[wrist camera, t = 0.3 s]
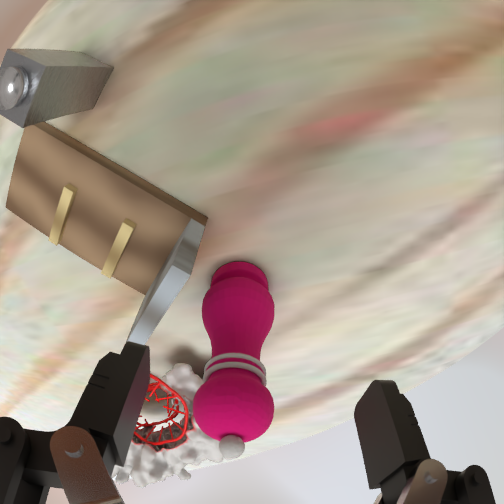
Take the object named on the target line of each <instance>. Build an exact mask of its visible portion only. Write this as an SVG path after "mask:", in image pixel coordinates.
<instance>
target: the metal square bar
mask: <svg viewBox="0 0 504 504" xmlns="http://www.w3.org/2000/svg"><path fill="white" fill-rule="evenodd" d="M113 69H114V68H113V67H111V66H109V65H107V64H105V63H103V62H101V61H99V60H97V59H95V58H92V57H90V56H88V55H86V54H84V53H81V52H74V51H62V50H46V49H7V52H6V54H5V56H4V59H3V62H2V64H1V67H0V114H1V115H2V116H4V117H6V118H7V119H9V120H10V121H12V122H14V123H15V124H17V125H19V126H20V127H22V128H24V127H27V126H31V125H34V124H37V123H40V122H44V121H47V120H51V119H54V118H58V117H61V116H65V115H69V114H73V113H77V112H81V111H85V110H90V109H93V108H94V106H95V104H96V102H97V100H98V98H99V95H100V93H101V91H102V90H103V88H104V86H105V84H106V82H107V80H108V78H109V76H110V74H111V72H112V71H113Z"/></svg>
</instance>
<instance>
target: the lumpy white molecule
mask: <svg viewBox="0 0 504 504" xmlns="http://www.w3.org/2000/svg"><path fill="white" fill-rule="evenodd" d="M150 377H151V378H153V379H154V380H156V381H158V382H156V383H151V384H149V386H148V390H147V392H151V391H152V393H151V394H150V395H149V397H151V396H152V394H153V393H155V396H156V399H155V400H157V401H158V402H159V400H163V399H167V407H166V406H163V407H164V408H167V413H169V409H170V413H169V415H168V417H169V416H170V414H171V412H172V410H173V411H175V412H174V413H173V414H172V415H171V416H170V417H169V418H167V419H165V420H163V421H160V422H153V423H152V424H148V422H147V421H146V419H145V422H146V423H145V424H140V423H138V422H137V425H139V426H138V427H137V426H136V427H135V430H134V434H133V437H132V440H131V444H130V447H129V450H128V454H127V457H126V461H125V464H124V467H121V466H118V465H115V466H114V469H113V473H112V476H111V477H112V478H113V477H114V476H116V474H117V477H116V482H117V483H118V484H123V483H125V482H127V481H128V479H129V475H131V477H132V479H133V481H134V484H135V485H136V486H137V487H141V488H144V487H146V485H148V484H154V483H156V482H158V481H164V480H165V479H166V477H171V476H173V474H176V475H177V476H178V477H179V478H180V479H181V480H188V479H190V478H191V475H190V474H189V473H188V472H187V471H186V470H185V469H184V467H185V466H186V465H187V464H192V465H199V464H201V462H202V461H204V460H207V459H208V460H209V461H213V462H217V463H219V462H221V461H222V460H223V457H224V458H225V459H227V460H230V459H233V458H227V457H225V456H223V455H222V454H221V453H220V450H219V442H220V441H218V440H215V439H213V438H211V437H209V436H208V435H206V434H205V433H204V432H203V431H202V430H201V429H200V428H199V426H198V425H197V423H196V422H195V418H194V415H193V399H194V396H195V394H196V392H197V390H198V389H199V387H200V386H201V385H202V384H204V383H203V379H201V378H200V377H199V375H196V374H194V373H193V371H192V367H191V366H190V365H189V364H186V363H176V364H175V365H174V367H173V369H172V370H169V371H168V372H167V373H166V375H164V376H163V377H162V378H161V379H159V378H157V377H156V376H154V375H152V374H150ZM154 385H157V386H154ZM158 388H159V389H162V390H163V391H165V392H166V393H167V397H165V398H159V399H158V397H157V394H156V392H155V390H156V389H158ZM168 394H171V395H172V396H171V397H169V395H168ZM169 398H172V403H173V398H174V399H175V402H174V403H173V406H172V408H169ZM145 400H147V401H149V402H150V400H148V399H147V398H145ZM180 401H181V402H182V404H183V406H184V412H181V411H179V404H180ZM175 403H176V404H175ZM174 405H175V406H176V410H175V409H173V407H174ZM178 413H181V414H185V416H184V418H183V419H182V420H181V421H180V424H179V423H177V422H175V421H173V420H172V419H173V418H175V417H176V416H177V415H178ZM139 417H142V416H140V415H139ZM169 420H171V421H172V422H173V424H172V425H171V426H170V423H168V424H169V426H168V427H166V428H163V426H162V429H161V430H160V431H156V432H153V430H154V428H155V427H156V426H154V425H158V424H161V423H164V422H165V423H167V422H168V421H169ZM146 424H147V425H146ZM141 426H143V427H144V428H143V429H138V428H139V427H141Z"/></svg>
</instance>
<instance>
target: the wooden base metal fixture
mask: <svg viewBox="0 0 504 504" xmlns="http://www.w3.org/2000/svg"><path fill="white" fill-rule="evenodd" d="M6 208H7V209H9V210H10V211H12V212H13V213H14V214H16V215H17V216H19V217H20V218H21V219H23V220H24V221H26V222H27V223H29V224H30V225H32V226H33V227H34V228H36V229H37V230H39V231H40V232H42V233H43V234H45V235H46V236H48V237H49V241H51V242H52V243H54V244H55V245H58V244H60V245H62V246H63V247H65V248H66V249H68V250H70V251H71V252H73V253H74V254H76V255H77V256H79V257H81V258H82V259H84V260H86V261H87V262H89V263H90V264H92V265H94V266H95V267H97V268H99V269H100V270H102V272H101V273H102V274H103V275H105V276H107V277H109V278H111V277H114V278H116V279H118V280H119V281H121V282H123V283H125V284H126V285H128V286H130V287H132V288H133V289H135V290H137V291H139V292H141V293H142V294H144V295H145V297H144V300H143V302H142V304H141V307H140V309H139V312H138V314H137V316H136V319H135V321H134V324H133V326H132V329H131V331H130V334H129V336H128V339H127V341H130V342H134V343H138V344H142V345H145V343H146V342H147V340H148V339H149V337H150V336H151V334H152V333H153V331H154V329H155V328H156V326H157V325H158V323H159V322H160V320H161V319H162V317H163V316H164V314H165V313H166V311H167V310H168V308H169V307H170V305H171V304H172V302H173V301H174V299H175V298H176V296H177V295H178V293H179V292H180V290H181V289H182V287H183V286H184V284H185V283H186V281H187V280H188V278H189V277H190V275H191V272H192V269H193V265H194V262H195V258H196V255H197V252H198V248H199V245H200V242H201V238H202V235H203V232H204V229H205V225H206V222H207V219H208V218H207V217H206V216H204V215H202V214H201V213H199V212H197V211H196V210H194V209H192V208H191V207H189V206H187V205H185V204H184V203H182V202H180V201H179V200H177V199H175V198H174V197H172V196H170V195H169V194H167V193H165V192H164V191H162V190H160V189H158V188H157V187H155V186H153V185H152V184H150V183H148V182H147V181H145V180H143V179H141V178H140V177H138V176H136V175H135V174H133V173H131V172H130V171H128V170H126V169H124V168H123V167H121V166H119V165H118V164H116V163H114V162H113V161H111V160H109V159H107V158H106V157H104V156H102V155H101V154H99V153H97V152H95V151H94V150H92V149H90V148H89V147H87V146H85V145H83V144H82V143H80V142H78V141H77V140H75V139H73V138H71V137H70V136H68V135H66V134H65V133H63V132H61V131H59V130H58V129H56V128H54V127H53V126H51V125H49V124H47V123H46V122H40V123H37V124H34V125H31V126H27V127H25V129H24V132H23V135H22V138H21V142H20V145H19V149H18V153H17V156H16V160H15V164H14V168H13V173H12V177H11V182H10V186H9V191H8V197H7V202H6ZM127 341H126V342H127Z"/></svg>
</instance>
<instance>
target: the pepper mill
mask: <svg viewBox="0 0 504 504" xmlns="http://www.w3.org/2000/svg"><path fill="white" fill-rule="evenodd" d="M202 318H203V323H204V326H205V329H206V331H207V333H208V335H209V338H210V340H211V346H212V357H211V359H210V360H209V361H208V362H207V363H206V365H205V367H204V376H203V383H204V384H202V385H201V386H200V387H199V389H198V390H197V392H196V394H195V396H194V399H193V415H194V418H195V422H196V423H197V425H198V426H199V428H200V429H201V430H202V431H203V432H204V433H205V434H206V435H208V436H209V437H211V438H213V439H215V440H218V441H220V442H219V450H220V453H221V454H222V455H223V456H225V457H227V458H237V457H239V456H240V455H242V453H243V452H244V449H245V444H244V442H248V441H251V440H254V439H256V438H258V437H259V436H261V435H262V434H263V433H264V432H265V431H266V430H267V429H268V428H269V426H270V424H271V422H272V419H273V414H274V402H273V398H272V396H271V394H270V392H269V390H268V389H267V388H266V387H265V386H266V369H265V367H264V365H263V364H262V363H261V362H260V352H261V347H262V344H263V342H264V340H265V338H266V336H267V335H268V333H269V331H270V329H271V327H272V323H273V320H274V302H273V299H272V296H271V295H270V293H269V292H268V282H267V278H266V276H265V274H264V273H263V272H262V271H261V270H260V269H259V268H258V267H256V266H255V265H253V264H250V263H247V262H231V263H228V264H225V265H223V266H222V267H220V268H219V269H218V270H217V271H216V272H215V274H214V275H213V278H212V282H211V287H210V289H209V290H208V291H207V293H206V294H205V297H204V299H203V304H202Z"/></svg>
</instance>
